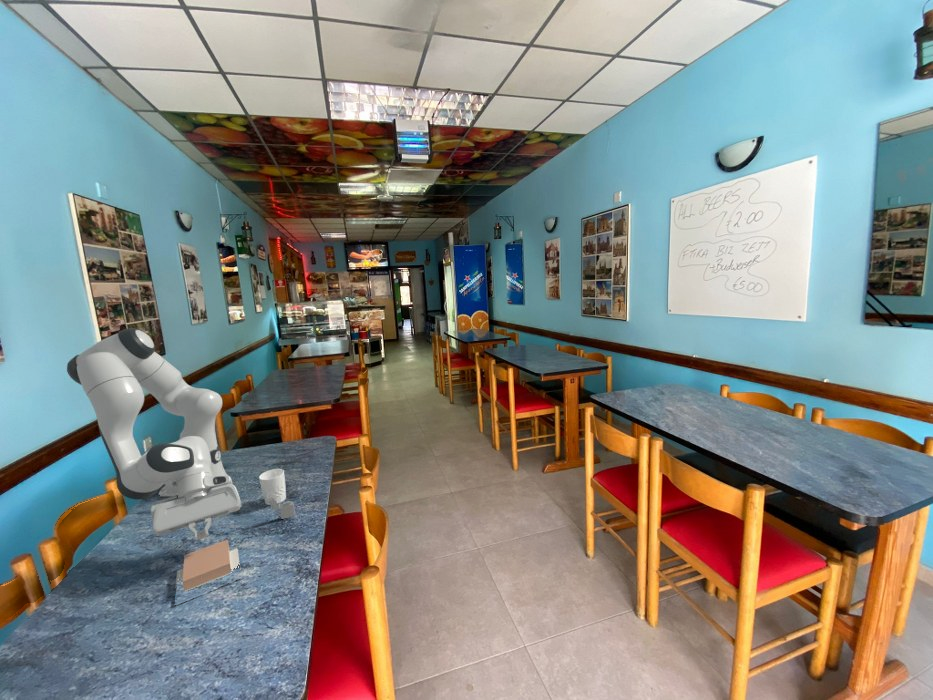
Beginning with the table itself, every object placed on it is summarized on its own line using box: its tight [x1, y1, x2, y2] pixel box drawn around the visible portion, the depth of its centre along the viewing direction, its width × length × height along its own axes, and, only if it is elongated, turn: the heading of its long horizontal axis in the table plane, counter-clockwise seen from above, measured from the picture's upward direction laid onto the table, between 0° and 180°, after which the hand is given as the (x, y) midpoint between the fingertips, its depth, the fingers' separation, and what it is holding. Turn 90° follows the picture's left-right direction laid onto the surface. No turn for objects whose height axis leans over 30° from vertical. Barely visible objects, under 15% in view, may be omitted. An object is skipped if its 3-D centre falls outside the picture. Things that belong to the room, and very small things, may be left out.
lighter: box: [268, 497, 296, 520], centre depth 123 cm, size 7×2×8 cm, turn 116°
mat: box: [175, 548, 241, 587], centre depth 100 cm, size 14×14×1 cm
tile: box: [182, 539, 232, 592], centre depth 102 cm, size 3×10×12 cm
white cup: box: [258, 468, 287, 506], centre depth 134 cm, size 8×8×10 cm
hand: (202, 537), depth 104 cm, fingers closed
